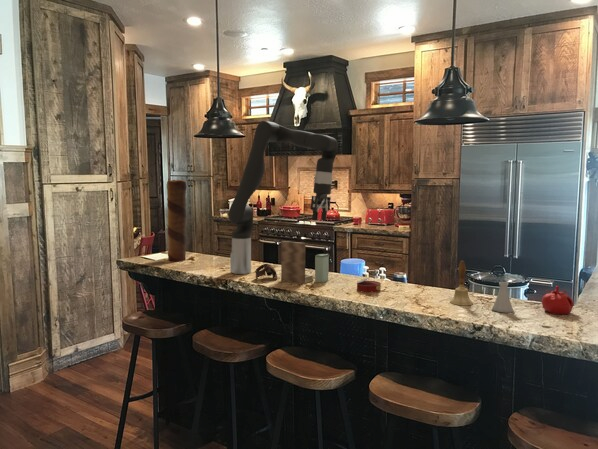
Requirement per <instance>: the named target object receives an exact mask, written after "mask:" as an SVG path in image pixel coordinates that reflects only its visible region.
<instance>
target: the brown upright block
mask: <svg viewBox="0 0 598 449" xmlns="http://www.w3.org/2000/svg"><path fill="white" fill-rule="evenodd" d="M280 242H281V244H280V245H281V247H280V248H281V253H280V254H281V258H280V260H281V261H280V262H281V267H280V268H281V269H280V271H281V272H280V277H281V278H280V280H281V282H288V283H294V284H301V285H305V284H306V283H311V282H313V281H314V275H313V274H307V273H306V242H300V241H299V242H296V241H287V240H281V241H280Z"/></svg>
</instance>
